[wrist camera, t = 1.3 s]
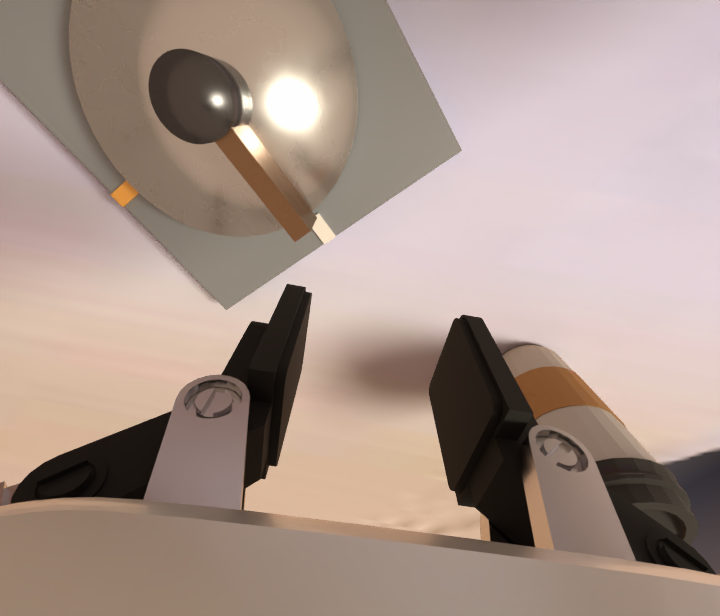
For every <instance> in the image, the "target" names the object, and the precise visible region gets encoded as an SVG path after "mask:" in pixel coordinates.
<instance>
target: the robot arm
mask: <svg viewBox="0 0 720 616" xmlns="http://www.w3.org/2000/svg"><path fill="white" fill-rule="evenodd" d="M311 297H312V293H309V292H306V287H302V286H296V285H290V284H287V285H286V287H285V290H284V292H283V294H282V296H281V298H280V300H279V302H278V305H277V307H276V309H275V311H274V313H273V315H272V317H271V320H270V322H269V324H267V323H261V322H255V321H252V322H251V323H250V324H249V326H248V328H247V330H246V331H245V333H244V335H243V337H242V339H241V340H240V342H239V344H238V346H237V348H236V349H235V351H234V353H233V355H232V357H231V358H230V360H229V362H228V364H227V366H226V367H225V369H224V371H223V373H222V375H210V376H205V377H202V378H198V379H196V380H194V381H192V382H190V383H188V384H187V385H186V386H185V387H184V388H183V389H182V390H180V392H179V394H178V396H177V398H176V400H175V403H174V406H173V410H172V411H171V412H168V413H166V414H163V415H161V416H158V417H156V418H153V419H150V420H148V421H145V422H143V423H140V424H138V425H135V426H133V427H130V428H128V429H125V430H122V431H120V432H117V433H115V434H112V435H110V436H107V437H105V438H102V439H100V440H97V441H94V442H92V443H89V444H87V445H84V446H82V447H79V448H77V449H74V450H72V451H69V452H67V453H64V454H61V455H59V456H57V457H55V458H53V459H51V460H49V461H47V462H45V463H43V464H42V465H40V466H39V467H38V468H36V469H35V470H33V471H32V472H31V473H29V474H28V475H27V477H26V478H25V479H24V480H23V481H22V482H21V483H20V484H16V485H13V486H10V487H7V485H6V483H5V481H4V482H1V483H0V616H720V573H719V574H718V575H716V573H715V572H714V571H713V569H712V568H711V567H710V565H709V564H708V563H707V562H706V560H705V559H704V558H703V557H702V556H701V555H700V554H699V553H698V552H697V551H696V550H695V549H694V548H692V547H691V546H690V545H689V544H688V543H686V542H685V541H684V540H682V539H681V538H680V537H678V536H677V535H675V534H674V533H673V532H671V531H670V530H668V529H667V528H665V527H664V526H663V525H661V524H660V523H658V522H657V521H655V520H654V519H653V518H651V517H650V516H648V515H647V514H645V513H644V512H642V511H641V510H640V509H638V508H637V507H635V506H634V505H632V504H631V503H630V502H628V501H627V500H625V499H624V498H622V497H621V496H620V495H618V494H617V493H615V492H614V491H612V490H611V489H609V488H608V487H607V486H605V484H604V482H603V479H602V477H601V475H600V472H599V470H598V467H597V465H596V463H595V460H594V458H593V457H592V455H591V453H590V452H589V450H588V449H587V448H586V447H585V446H584V445H583V444H582V443H581V442H580V441H579V440H577V439H576V438H575V437H574V436H572V435H570V434H569V433H567V432H565V431H564V430H561V429H559V428H556V427H554V426H549V425H538V423H537V421H536V420H535V418H534V416H533V414H534V413H533V411H532V409H531V407H530V405H529V404H528V402H527V400H526V398H525V396H524V394H523V393H522V391H521V389H520V387H519V385H518V383H517V382H516V380H515V378H514V376H513V374H512V372H511V371H510V369H509V367H508V365H507V363H506V361H505V360H504V358H503V356H502V354H501V352H500V350H499V349H498V347H497V345H496V343H495V341H494V339H493V338H492V336H491V334H490V332H489V330H488V328H487V327H486V325H485V323H484V321H483V319H482V318H479V317H473V316H468V315H462V316H461V317H460V319H458V318H455V319H454V321H453V323H452V326H451V328H450V331H449V334H448V337H447V339H446V342H445V345H444V347H443V350H442V353H441V356H440V358H439V361H438V364H437V366H436V369H435V372H434V375H433V377H432V380H431V383H430V387H429V396H430V401H431V405H432V410H433V415H434V419H435V424H436V429H437V434H438V438H439V443H440V448H441V452H442V457H443V462H444V466H445V471H446V476H447V480H448V485H449V488H450V490H452V491H455V493H456V497H457V502H458V505H461V506H468V507H475V508H476V509H477V510H478V511H479V512H481V515H480V533H481V540H476V539H469V538H461V537H453V536H445V535H438V534H430V533H422V532H414V531H406V530H398V529H391V528H383V527H375V526H367V525H359V524H351V523H343V522H335V521H327V520H318V519H310V518H302V517H294V516H286V515H278V514H269V513H261V512H253V511H245V510H244V505H245V492H246V488H247V487H248V486H250V485H252V484H253V483H255V482H257V481H258V480H260V479H265V478H266V475H267V471H268V467H269V466H277V464H278V460H279V456H280V452H281V449H282V445H283V441H284V437H285V433H286V429H287V425H288V421H289V417H290V413H291V410H292V406H293V402H294V398H295V394H296V390H297V386H298V382H299V378H300V374H301V370H302V364H303V357H304V349H305V342H306V334H307V327H308V320H309V312H310V305H311Z"/></svg>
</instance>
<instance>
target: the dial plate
mask: <svg viewBox="0 0 720 616" xmlns="http://www.w3.org/2000/svg"><path fill="white" fill-rule="evenodd" d="M331 1H332V3H333V5H334V7H335V9H336V11H337V13H338V15H339V17H340V19H341V22H342V25H343V28H344V30H345V33H346V36H347V39H348V42H349V45H350V49H351V53H352V57H353V61H354V65H355V71H356V79H357V87H358V114H357V124H356V131H355V135H354V140H353V144H352V148H351V151H350V154H349V156H348V159H347V162H346V165H345V167H344V169H343V171H342V173H341V175H340V177H339V179H338V181H337V182H336V184H335V185H334V187H333V188H332V190H331V191H330V192H329V194H328V195H327V196H326V197H325V199H324V200H323V201H322V202H321V203H320V204H319V205H318V206H317V207H316V208H315V209H314V210H313V213H314V214H315V216H316V217H317V219H316V221H315V223H314V225H313V227H312V230H311V231H310V232H309V233H307V234H306V235H305V236H303V237H302V238H300V239H299V240H297V241H296V242H294V241H293V239H292V238H291V237H290V236H289V234H288V233H287V232H286V231H285V229H284V228H283V229H281V230H279V231H275V232H271V233H268V234H264V235H257V236H249V237H234V236H225V235H218V234H214V233H210V232H206V231H202V230H199V229H197V228H194V227H191V226H188V225H186V224H184V223H182V222H180V221H178V220H176V219H174V218H172V217H171V216H169V215H167V214H166V213H164V212H163V211H161V210H160V209H158V208H157V207H155V206H154V205H153V204H151V203H150V202H149V201H148V200H146V199H145V198H144V197H143V196H141V195H140V194H139V193H138V192H137V191H136V190H135V189H134V188H133V187H132V186H131V185H130V184H129V183H128V182H127V181H126V180H125V178H124V177H123V176H122V175H121V174H120V173H119V171H118V170H117V169H116V168H115V167H114V165H113V164H112V162H111V161H110V160H109V158H108V157H107V155H106V154H105V153H104V151H103V149H102V148H101V146H100V144H99V142H98V141H97V139H96V137H95V136H94V134H93V132H92V130H91V127H90V125H89V123H88V121H87V119H86V116H85V114H84V112H83V109H82V106H81V103H80V100H79V97H78V94H77V91H76V87H75V82H74V78H73V74H72V68H71V60H70V52H69V21H70V13H71V4H72V0H1V1H0V81H1V82H2V83H3V84H4V85H5V86H6V87H7V88H8V89H9V90H10V91H11V92H12V93H13V94H14V95H15V96H16V97H17V98H18V99H19V100H20V101H21V102H22V103H23V104H24V105H25V106H26V107H27V108H28V109H29V110H30V111H31V112H32V113H33V114H34V115H35V116H36V117H37V118H38V119H39V120H40V121H41V122H42V123H43V124H44V125H45V126H46V127H47V128H48V130H49V131H50V132H51V133H52V134H53V135H54V136H55V137H56V138H57V139H58V140H59V141H60V142H61V143H62V144H63V145H64V146H65V147H66V148H67V149H68V150H69V151H70V152H71V153H72V154H73V155H74V156H75V157H76V158H77V159H78V160H79V161H80V162H81V163H82V164H83V165H84V166H85V167H86V168H87V169H88V170H89V171H90V172H91V173H92V174H93V175H94V176H95V177H96V178H97V179H98V180H99V181H100V182H101V183H102V184H103V185H104V186H105V187H106V188H107V189H108V190H109V191H110V192H111V193H112V194H111V196H112V197H113V198H114V199H115V200H116V201H117V202H118V203H119V204H120V205H121V206H122V207H125V208H126V209H127V210H128V211H129V212H130V213H131V214H132V215H133V216H134V217H135V218H136V219H137V220H138V221H139V222H140V223H141V224H142V225H143V226H144V227H145V228H146V229H147V230H148V231H149V232H150V233H151V234H152V235H153V236H154V237H155V238H156V239H157V240H158V241H159V242H160V243H161V244H162V245H163V246H164V247H165V248H166V249H167V250H168V251H169V252H170V253H171V254H172V255H173V256H174V257H175V258H176V259H177V260H178V261H179V262H180V263H181V264H182V265H183V267H184V268H185V269H186V270H187V271H188V272H189V273H190V274H191V275H192V276H193V277H194V278H195V279H196V280H197V281H198V282H199V283H200V284H201V285H202V286H203V287H204V288H205V289H206V290H207V291H208V292H209V293H210V294H211V295H212V296H213V297H214V298H215V299H216V300H217V301H218V302H219V303H220V304H221V305H222V306H223V307H224V308H225V309H226V310H227V309H229V308H230V307H231V306H233V305H234V304H236V303H237V302H239V301H240V300H242V299H243V298H245V297H246V296H248V295H249V294H251V293H252V292H254V291H255V290H257V289H258V288H260V287H261V286H262V285H264V284H265V283H267V282H268V281H270V280H271V279H273V278H274V277H276V276H277V275H279V274H280V273H282V272H283V271H285V270H286V269H288V268H289V267H291V266H292V265H293V264H295V263H296V262H298V261H299V260H301V259H302V258H304V257H305V256H307V255H308V254H310V253H311V252H313V251H314V250H316V249H317V248H319V247H320V246H322V245H323V244H325V243H327V242H328V241H330V240H331V239H333V238H334V237H336V235H338V234H339V233H341V232H342V231H344V230H345V229H347V228H348V227H350V226H351V225H352V224H354V223H355V222H357V221H358V220H360V219H361V218H363V217H364V216H366V215H367V214H369V213H370V212H372V211H373V210H375V209H376V208H378V207H379V206H381V205H382V204H383V203H385V202H386V201H388V200H389V199H391V198H392V197H394V196H395V195H397V194H398V193H400V192H401V191H403V190H404V189H406V188H407V187H409V186H410V185H412V184H413V183H414V182H416V181H417V180H419V179H420V178H422V177H423V176H425V175H426V174H428V173H429V172H431V171H432V170H434V169H435V168H437V167H438V166H440V165H441V164H443V163H444V162H445V161H447V160H448V159H450V158H451V157H453V156H454V155H456V154H457V153H459V152H460V151H462V150H461V148H460V146H459V144H458V142H457V140H456V138H455V136H454V134H453V132H452V130H451V128H450V126H449V124H448V122H447V120H446V118H445V116H444V114H443V112H442V110H441V108H440V106H439V104H438V102H437V100H436V98H435V96H434V94H433V92H432V90H431V88H430V86H429V84H428V82H427V80H426V78H425V76H424V74H423V73H422V71H421V69H420V67H419V65H418V63H417V61H416V59H415V57H414V55H413V53H412V51H411V49H410V47H409V45H408V43H407V41H406V39H405V37H404V35H403V33H402V31H401V29H400V27H399V25H398V23H397V21H396V19H395V17H394V15H393V13H392V11H391V9H390V7H389V5H388V3H387V1H386V0H331Z"/></svg>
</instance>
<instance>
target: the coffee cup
mask: <svg viewBox="0 0 720 616" xmlns="http://www.w3.org/2000/svg"><path fill="white" fill-rule="evenodd" d="M502 356H503V358H504V360H505V361H506V363H507V365H508V367H509V369H510V371H511V372H512V374H513V376H514V378H515V380H516V382H517V383H518V385H519V387H520V389H521V391H522V393H523V394H524V396H525V398H526V400H527V402H528V404H529V405H530V407H531V409H532V411H533V413H534V414H533V416H534V418H535V420H536V421H537V423H538V425H549V426H554V427H556V428H559V429H561V430H564V431H565V432H567V433H569V434H570V435H572V436H574V437H575V438H576V439H577V440H579V441H580V442H581V443H582V444H583V445H584V446H585V447H586V448H587V449H588V450H589V452H590V453H591V455H592V457H593V458H594V460H595V463H596V465H597V467H598V470H599V472H600V475H601V477H602V479H603V482H604V484H605V486H607V487H608V488H609V489H611V490H612V491H614V492H615V493H617V494H618V495H620V496H621V497H622V498H624V499H625V500H627V501H628V502H630V503H631V504H632V505H634V506H635V507H637V508H638V509H640V510H641V511H642V512H644V513H645V514H647V515H648V516H650V517H651V518H653V519H654V520H655V521H657V522H658V523H660V524H661V525H663V526H664V527H665V528H667V529H668V530H670V531H671V532H673V533H674V534H675V535H677V536H678V537H680V538H681V539H682V540H684V541H685V542H686V543H688V544H689V545H691V543H692V542H693V540H694V539H695V537H696V536H697V532H698V527H699V526H698V523H697V520H696V518H695V516H694V515H693V513H692V512H691V510H690V506H691V503H690V501H689V498H688V495H687V493H686V492H685V491H684V489H682V488H681V487H680V486H679V484H678V482H677V480H676V478H675V476H674V474H673V473H672V472H671V471H669V470H668V469H667V468H666V467H665V466H663V465H661V464H659V463H658V462H657V461H656V460H655V459H654V458H653V457H652V456H651V455H650V454H649V452H648V451H647V450H646V449H645V448H644V447H643V446H642V445H641V444H640V443H639V442H638V441H637V439H636V438H635V437H634V436H633V435H632V434H631V433H630V432H629V431H628V430H627V428H626V427H625V425H624V424H623V423H622V421H621V420H620V419H619V418H618V417H617V416H616V415H615V414H614V413H613V412H612V411H611V410H610V409H609V408H608V406H607V405H606V404H605V403H604V402H603V401H602V400H601V399H600V398H599V397H598V396H597V395H596V394H595V393H594V392H593V390H592V389H591V388H590V387H589V386H588V385H587V384H586V383H585V382H584V381H583V380H582V379H581V378H580V377H579V376H578V375H577V374H576V373H575V372H574V371H573V370H572V369H571V368H570V367H569V366H568V365H567V364H566V363H565V362H564V361H563V360H562V359H561V357H560V356H559V355H557V354H556V353H555V352H554V351H552V350H550V349H548V348H545V347H542V346H538V345H523V346H519V347H516V348H513V349H511V350H509V351H507V352H506V353H505V354H503V355H502Z"/></svg>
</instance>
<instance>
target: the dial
mask: <svg viewBox="0 0 720 616" xmlns="http://www.w3.org/2000/svg"><path fill="white" fill-rule="evenodd" d="M69 52H70V60H71V68H72V74H73V78H74V82H75V87H76V91H77V94H78V97H79V100H80V103H81V106H82V109H83V112H84V114H85V116H86V119H87V121H88V123H89V125H90V127H91V130H92V132H93V134H94V136H95V137H96V139H97V141H98V142H99V144H100V146H101V148H102V149H103V151H104V153H105V154H106V155H107V157H108V158H109V160H110V161H111V162H112V164H113V165H114V167H115V168H116V169H117V170H118V171H119V173H120V174H121V175H122V176H123V177H124V178H125V180H126V181H127V182H128V183H129V184H130V185H131V186H132V187H133V188H134V189H135V190H136V191H137V192H138V193H139V194H140V195H141V196H143V197H144V198H145V199H146V200H148V201H149V202H150V203H151V204H153V205H154V206H155V207H157V208H158V209H160V210H161V211H163V212H164V213H166V214H167V215H169V216H171V217H172V218H174V219H176V220H178V221H180V222H182V223H184V224H186V225H188V226H191V227H194V228H197V229H199V230H202V231H206V232H210V233H214V234H218V235H225V236H234V237H249V236H257V235H264V234H268V233H271V232H275V231H279V230H281V229H283V228H284V229H285V231H286V232H287V233H288V234H289V236H290V237H291V238H292V239H293V241H294V242H296V241H297V240H299V239H300V238H302V237H303V236H305V235H306V234H307V233H309V232H310V231H311V230H312V227H313V225H314V223H315V221H316V219H317V217H316V216H315V214H314V213H313V210H314V209H315V208H316V207H317V206H318V205H319V204H320V203H321V202H322V201H323V200H324V199H325V197H326V196H327V195H328V194H329V192H330V191H331V190H332V188H333V187H334V185H335V184H336V182H337V181H338V179H339V177H340V175H341V173H342V171H343V169H344V167H345V165H346V162H347V159H348V156H349V154H350V151H351V148H352V144H353V140H354V135H355V131H356V124H357V114H358V87H357V79H356V71H355V65H354V61H353V57H352V53H351V49H350V45H349V42H348V39H347V36H346V33H345V30H344V28H343V25H342V22H341V19H340V17H339V15H338V13H337V11H336V9H335V7H334V5H333V3H332V1H331V0H72V4H71V13H70V21H69Z"/></svg>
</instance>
